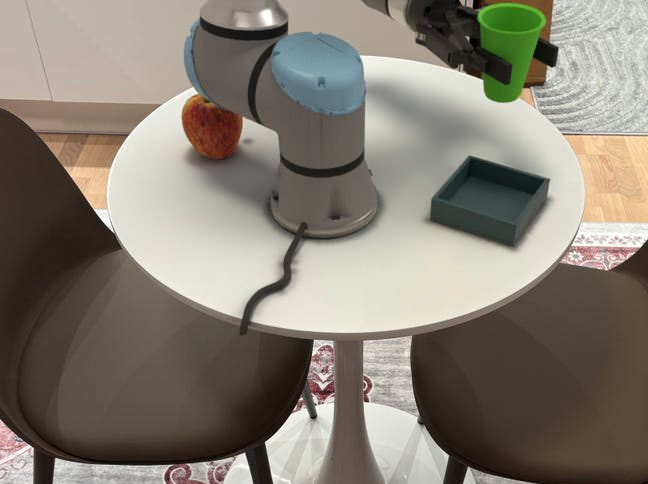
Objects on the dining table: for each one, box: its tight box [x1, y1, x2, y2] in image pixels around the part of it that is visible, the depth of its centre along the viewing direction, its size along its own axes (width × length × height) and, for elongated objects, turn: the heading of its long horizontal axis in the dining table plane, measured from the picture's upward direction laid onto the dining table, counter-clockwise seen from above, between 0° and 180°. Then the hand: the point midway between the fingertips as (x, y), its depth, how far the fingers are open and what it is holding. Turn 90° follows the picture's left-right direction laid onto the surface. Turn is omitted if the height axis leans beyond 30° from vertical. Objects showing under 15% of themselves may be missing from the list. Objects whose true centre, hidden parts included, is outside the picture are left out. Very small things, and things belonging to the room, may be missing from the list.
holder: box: [429, 154, 551, 247], centre depth 120 cm, size 13×13×4 cm
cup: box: [477, 2, 547, 104], centre depth 116 cm, size 9×9×11 cm
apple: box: [180, 93, 244, 160], centre depth 128 cm, size 9×9×10 cm
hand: (532, 66), depth 113 cm, fingers closed on cup, 8 cm apart
